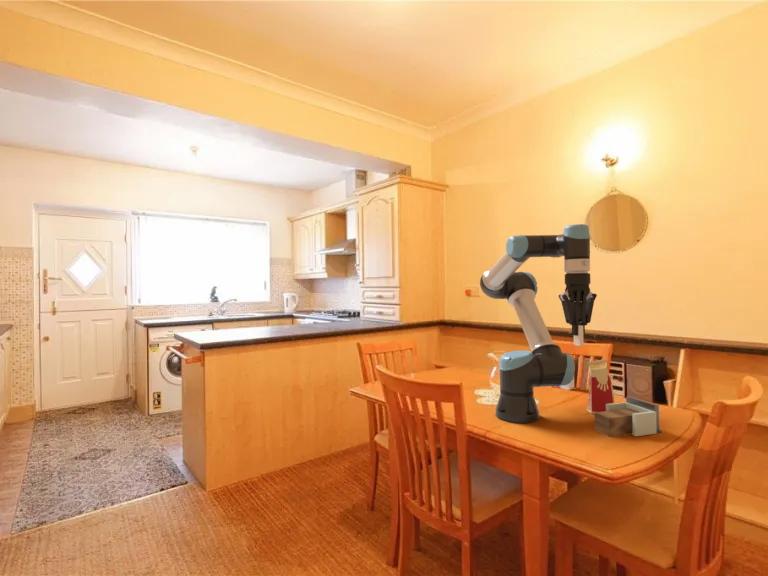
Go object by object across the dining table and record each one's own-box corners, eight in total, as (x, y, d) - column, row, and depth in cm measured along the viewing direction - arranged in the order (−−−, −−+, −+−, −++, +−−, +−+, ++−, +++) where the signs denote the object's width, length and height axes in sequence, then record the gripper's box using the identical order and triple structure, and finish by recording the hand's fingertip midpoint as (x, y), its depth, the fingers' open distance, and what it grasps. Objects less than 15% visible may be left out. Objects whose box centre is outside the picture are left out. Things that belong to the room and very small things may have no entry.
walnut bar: (609, 437, 127) (608, 418, 127) (595, 430, 133) (594, 412, 133) (645, 432, 130) (645, 413, 130) (630, 426, 136) (630, 408, 136)
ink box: (551, 386, 189) (550, 361, 188) (557, 385, 191) (557, 360, 191) (568, 390, 182) (568, 364, 182) (574, 388, 185) (574, 362, 184)
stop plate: (655, 433, 128) (654, 405, 128) (626, 422, 139) (626, 396, 139) (661, 432, 129) (661, 404, 129) (632, 421, 140) (632, 395, 140)
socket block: (635, 436, 126) (635, 414, 126) (606, 423, 138) (605, 403, 138) (656, 433, 128) (656, 412, 128) (625, 421, 140) (625, 401, 139)
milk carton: (613, 408, 154) (612, 356, 154) (615, 416, 146) (614, 360, 146) (586, 406, 158) (585, 355, 158) (587, 413, 150) (586, 359, 149)
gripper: (568, 272, 126) (569, 348, 126) (602, 272, 129) (604, 345, 130) (552, 273, 133) (553, 344, 134) (585, 272, 137) (587, 342, 137)
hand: (578, 345), depth 132 cm, fingers closed
